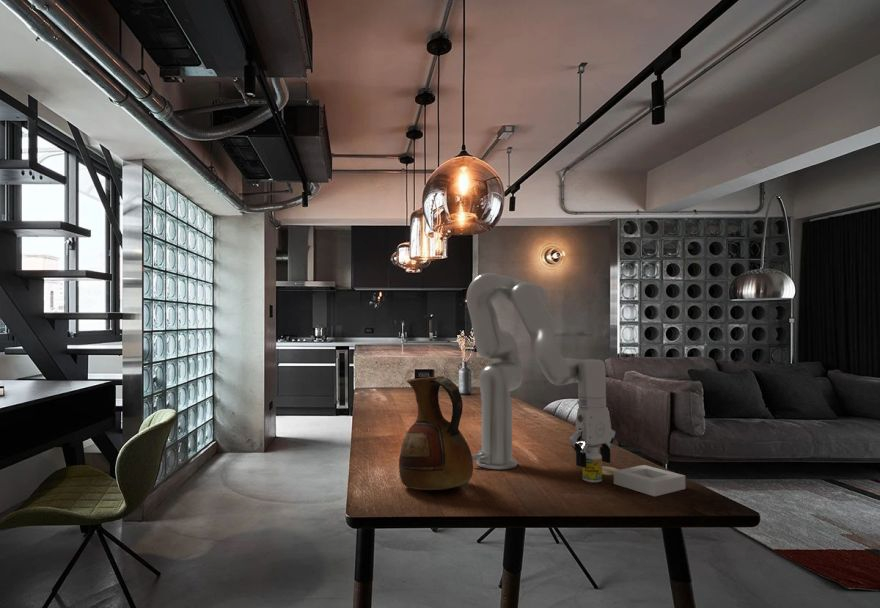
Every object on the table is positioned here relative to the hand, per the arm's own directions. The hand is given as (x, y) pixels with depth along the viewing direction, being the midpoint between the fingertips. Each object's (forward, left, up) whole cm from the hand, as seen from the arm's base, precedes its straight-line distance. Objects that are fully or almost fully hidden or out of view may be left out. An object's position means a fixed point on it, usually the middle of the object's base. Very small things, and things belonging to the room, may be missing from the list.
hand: (593, 464), depth 152 cm
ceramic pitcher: (-42, +16, -5) cm, 45 cm away
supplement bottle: (0, 0, -5) cm, 5 cm away
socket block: (+9, -12, -5) cm, 15 cm away
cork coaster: (+11, +5, -5) cm, 13 cm away
